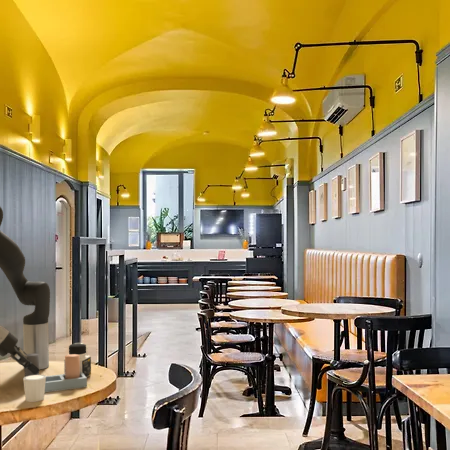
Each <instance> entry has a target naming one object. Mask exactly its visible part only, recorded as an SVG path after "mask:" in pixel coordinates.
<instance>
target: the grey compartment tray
mask: <svg viewBox="0 0 450 450" xmlns="http://www.w3.org/2000/svg"><path fill="white" fill-rule="evenodd" d="M64 360H65V374H64V373H61V374H55V375H53V374H52V375H45V376H46V382H45V393H48V392H56V391H63V390H65V391H66V390H72V389H81V388H82V389H83V388H87V387H88V377H86V376H85V375H84V374H83V373H82V372H80V355H77V354H71V355H69V354H66V355H65V356H64Z"/></svg>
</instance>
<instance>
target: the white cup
mask: <svg viewBox="0 0 450 450" xmlns="http://www.w3.org/2000/svg"><path fill="white" fill-rule="evenodd" d="M46 376H47V375H46V374H45V375H44V374H39V375H30V376H26V377H25V376H23V378H22V380H23V390H24V397H25V401H26V402H28V403H29V402H31V403H33V402H41V401H43V400H44V399H45V393H46V392H45V382H46Z"/></svg>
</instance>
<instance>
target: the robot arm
mask: <svg viewBox="0 0 450 450" xmlns="http://www.w3.org/2000/svg"><path fill="white" fill-rule="evenodd" d="M3 220H4V210H3V208H2V207H1V206H0V227H1V226H2V223H3ZM25 265H26V257H25V255H24V253H23V252H22V250H21V248H20V246H19V245H18V244H17V242H15V241H14V240H13V239H12V238H10V236H8V235H7V234H6V233H4V232H3V231H2V229H1V230H0V269H1V271H2V272H3V274H4V275H5V277H6V279H7V280H8V282H9V283H10V285H11V287H12V289H13V291H14V293H15V295H16V297H17V299H18V301H19V303H21V304H22V305H24V306H32V307H34V311H33V312H30V313H29V314H26V315H25V316H23V319H22V321H23V322H22V325H23V326H22V327H23V328H22V329H23V332H22V334H23V349H22V348H21V347H20V346H18V345H17V344H18V342H19V340H18V338H17V337H16V336H15V335H14V334H12V332H10V331H9V330H7V329H6V327H4V326H3V325H1V324H0V357H3V358H4V357H5V356H7V355H8V354H10V358H11V359H12V360H14V361H15V362H17V364H19V365H20V366H22V367H23V369H24V370H25V368H27V369H29V370H30V371H31V372H32V373H33V374H35V375H36V374H37V373H38V372H39V373H40V370H44V369H47V368H49V367H50V357H49V356H50V353H49V352H50V349H49V348H50V347H49V344H50V343H49V318H50V308H51V307H50V304H51V291H50V285H49V284H48V282H45V281H29V280H28V279H27V278H26V277H25V274H24V271H25ZM27 354H39V368H37V367H36V366H35V365H34V364H33V363H32V362H31V361H30V360H28V356H26V355H27ZM25 361H27V363H26V364H24V362H25Z"/></svg>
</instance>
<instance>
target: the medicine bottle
mask: <svg viewBox="0 0 450 450" xmlns="http://www.w3.org/2000/svg"><path fill="white" fill-rule="evenodd" d="M71 354H77V355H80V372H82V373H83V374H84V375H85V376H86V377H87V378H88V377H90V376H91V375H92V357H91V355H87V345H86V344H85V343H82V342H75V343H72V344H70V345H68V355H71ZM63 363H64V366H63V367H64V368H63V369H64V371H63V372H64V373H63V374H65V359H64V360H63Z"/></svg>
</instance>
